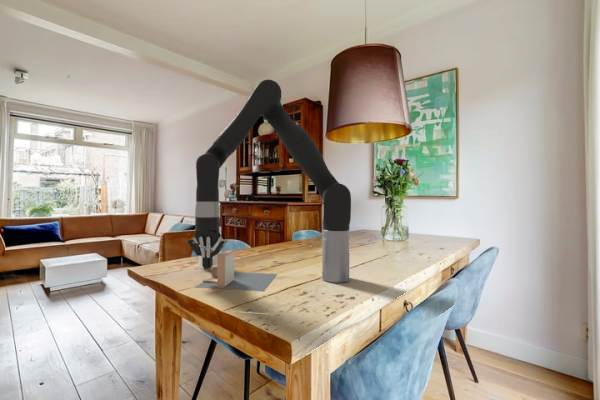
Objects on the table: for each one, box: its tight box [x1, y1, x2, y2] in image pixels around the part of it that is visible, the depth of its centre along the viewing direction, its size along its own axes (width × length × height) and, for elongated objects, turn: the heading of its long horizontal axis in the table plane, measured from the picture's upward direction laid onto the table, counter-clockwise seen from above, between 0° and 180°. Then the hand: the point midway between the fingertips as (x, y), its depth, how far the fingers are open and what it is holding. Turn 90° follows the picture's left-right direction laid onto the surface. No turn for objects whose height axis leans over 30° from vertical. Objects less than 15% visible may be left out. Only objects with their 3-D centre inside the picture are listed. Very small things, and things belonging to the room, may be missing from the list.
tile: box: [217, 250, 235, 288], centre depth 90 cm, size 2×8×10 cm, turn 172°
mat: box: [194, 271, 278, 292], centre depth 94 cm, size 22×19×1 cm
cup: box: [198, 226, 222, 270], centre depth 112 cm, size 8×8×16 cm
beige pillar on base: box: [202, 264, 217, 283], centre depth 98 cm, size 5×14×4 cm, turn 172°
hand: (207, 268), depth 91 cm, fingers closed
